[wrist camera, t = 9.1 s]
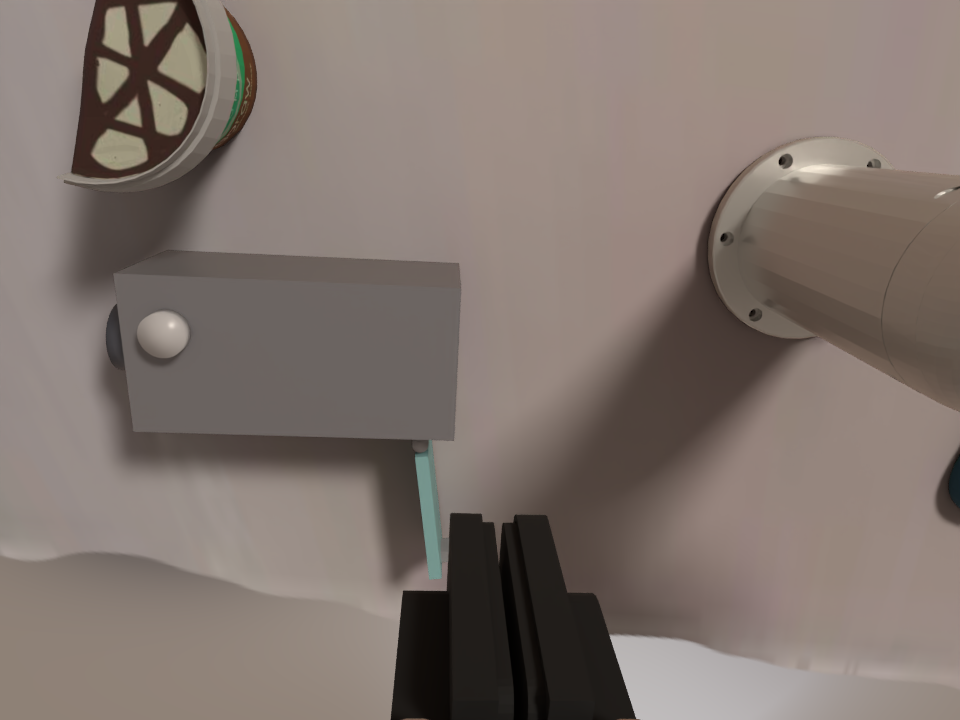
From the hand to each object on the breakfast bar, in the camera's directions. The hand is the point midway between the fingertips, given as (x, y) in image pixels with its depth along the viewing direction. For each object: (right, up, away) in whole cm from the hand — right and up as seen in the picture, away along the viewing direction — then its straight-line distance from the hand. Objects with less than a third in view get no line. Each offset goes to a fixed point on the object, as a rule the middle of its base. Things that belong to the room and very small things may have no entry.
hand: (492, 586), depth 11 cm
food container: (-15, +20, +27) cm, 36 cm away
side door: (-3, -4, +35) cm, 36 cm away
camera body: (-11, +6, +31) cm, 34 cm away
